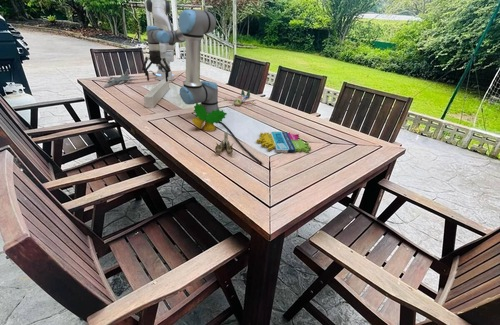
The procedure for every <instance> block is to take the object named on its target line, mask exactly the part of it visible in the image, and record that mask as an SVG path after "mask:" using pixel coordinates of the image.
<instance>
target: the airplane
mask: <svg viewBox="0 0 500 325" xmlns="http://www.w3.org/2000/svg"><path fill="white" fill-rule="evenodd" d="M129 69H130V68H126V71H125V73H124V74H120V76H119V77H118V76H109V75H105V76H106V78H109V79H108V82H107V83H106V84H105V85H104V86H102V88H109V87H111V86H115V85H118V84H119V85H121V84H125V83H130V82H132V81H137V80H138V79H136V78H134V77H136V76H135V75H130V73H129Z"/></svg>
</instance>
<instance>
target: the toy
mask: <svg viewBox="0 0 500 325" xmlns="http://www.w3.org/2000/svg"><path fill="white" fill-rule="evenodd" d="M240 92H241V93H240V95H238V96H237V97H235V99H233V98H230V99H228V98H227V97H226V96H225V97H224V98H223V101H224V102H233V103H232V104H233V105H235V106H242V103H243V104H247V105H252V106H255V105H256V104H257V103H256V102H254V101H253V100H252V101H251V102H250V101H248V100H246V99H248V98H250V97H251V90H250V89H249V90H248V91H247V92H246V93H245V91H244V89H242V90H241V91H240Z"/></svg>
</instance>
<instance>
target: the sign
mask: <svg viewBox="0 0 500 325" xmlns="http://www.w3.org/2000/svg"><path fill="white" fill-rule="evenodd" d="M299 136H300V135H299V134H298V133H296V134H294V133H291V132H287V131H270V132H264V133H263V132H260V133H259V139H258V138H257V139H256V143H257V144H261V148H263V147H264V148H265V149H267V151H268V152H271V151H272V150H273V149H275V152H276V153H283V154H285V153H287V154H288V153H290V154H293V153H296V152H298V153H301V152H305V153H310V151H311V150H312V149H311V148H312V146H309V142H304V141H303V139H302V138H299Z"/></svg>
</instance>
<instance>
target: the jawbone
mask: <svg viewBox="0 0 500 325" xmlns="http://www.w3.org/2000/svg"><path fill="white" fill-rule="evenodd" d="M228 132H229V131H226V132H224V134H223V135H224V136H223V140H222V139H221V142H220V144H218V142H215V144H216V146H215V148H214V149H215V152H214V154H215V155H217V156H218V155H220V153H221V152H223V151H224V150H226V152H227V153H228V155H229V156H233V155H234V154H233V153H234V148H233V144H234V143H230V140H228V139H229V138H228V137H229V136H228V135H229V133H228Z"/></svg>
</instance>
